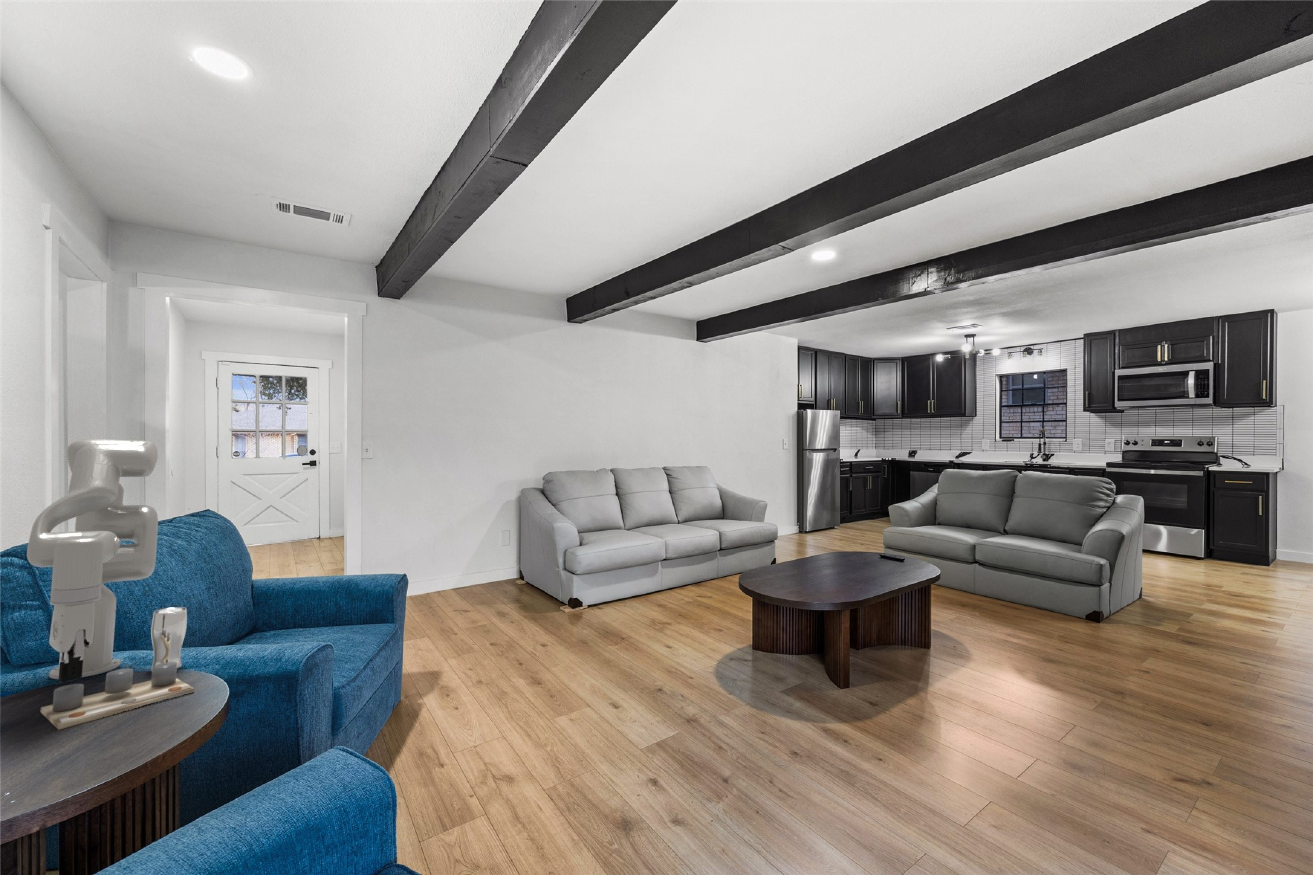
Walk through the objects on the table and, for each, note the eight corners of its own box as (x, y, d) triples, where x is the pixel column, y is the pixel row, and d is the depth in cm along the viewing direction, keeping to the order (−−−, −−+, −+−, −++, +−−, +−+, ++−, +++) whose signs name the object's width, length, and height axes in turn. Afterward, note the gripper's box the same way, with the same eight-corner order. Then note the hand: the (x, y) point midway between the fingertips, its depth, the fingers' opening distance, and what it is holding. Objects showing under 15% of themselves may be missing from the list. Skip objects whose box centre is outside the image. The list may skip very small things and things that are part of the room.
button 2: (148, 683, 130) (149, 666, 131) (171, 677, 134) (173, 661, 134) (155, 687, 128) (156, 670, 128) (178, 681, 132) (180, 664, 132)
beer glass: (162, 674, 139) (166, 614, 140) (141, 671, 140) (145, 612, 141) (190, 664, 146) (194, 607, 147) (170, 662, 147) (173, 605, 148)
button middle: (102, 690, 124) (103, 672, 124) (128, 684, 127) (129, 666, 128) (108, 695, 121) (109, 676, 122) (134, 688, 125) (136, 670, 125)
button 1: (49, 707, 117) (51, 688, 117) (79, 700, 121) (80, 682, 121) (55, 713, 115) (57, 693, 115) (85, 705, 118) (86, 686, 118)
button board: (40, 711, 118) (41, 704, 118) (171, 679, 136) (171, 673, 136) (58, 729, 110) (59, 722, 110) (194, 692, 129) (194, 686, 129)
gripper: (42, 591, 120) (35, 676, 119) (60, 604, 112) (54, 694, 111) (90, 585, 126) (84, 665, 126) (111, 596, 118) (105, 682, 118)
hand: (70, 679), depth 118 cm, fingers closed
